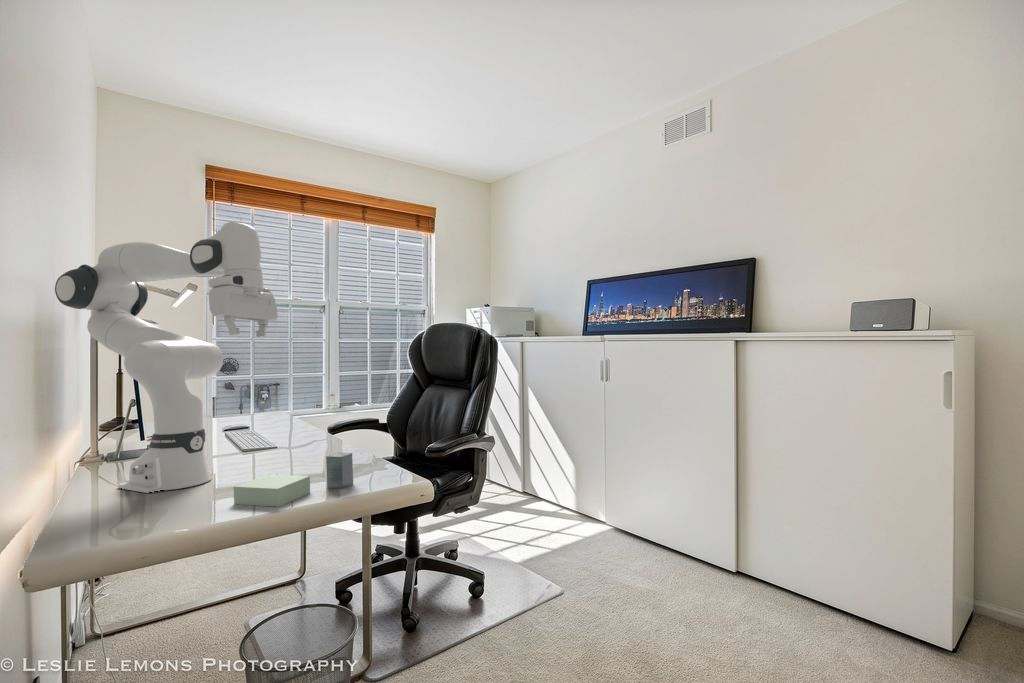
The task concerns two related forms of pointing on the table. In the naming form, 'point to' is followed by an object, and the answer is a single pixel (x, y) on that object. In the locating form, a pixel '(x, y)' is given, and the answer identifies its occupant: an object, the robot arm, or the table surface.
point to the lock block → (339, 470)
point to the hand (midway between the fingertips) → (248, 336)
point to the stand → (271, 490)
